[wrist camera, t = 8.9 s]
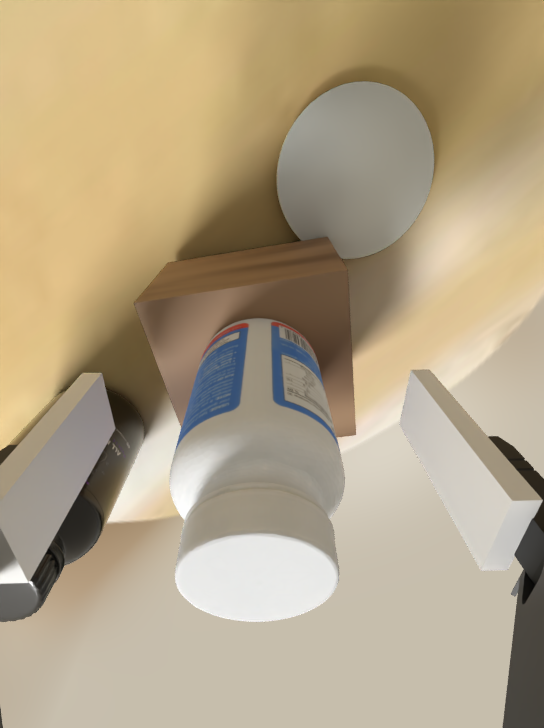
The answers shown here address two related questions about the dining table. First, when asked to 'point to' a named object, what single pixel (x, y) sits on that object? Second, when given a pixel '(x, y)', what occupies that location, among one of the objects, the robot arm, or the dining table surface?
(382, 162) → the grey coaster
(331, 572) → the pill bottle
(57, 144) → the dining table surface
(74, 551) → the supplement bottle
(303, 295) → the walnut block
